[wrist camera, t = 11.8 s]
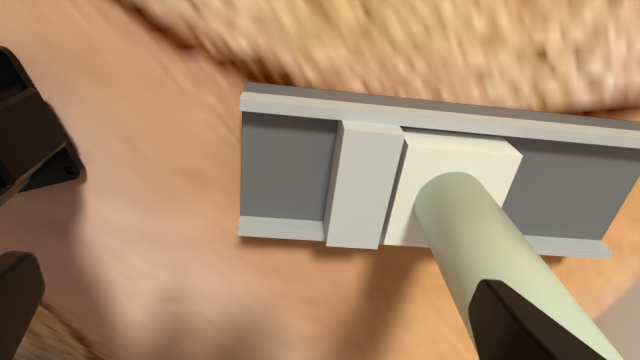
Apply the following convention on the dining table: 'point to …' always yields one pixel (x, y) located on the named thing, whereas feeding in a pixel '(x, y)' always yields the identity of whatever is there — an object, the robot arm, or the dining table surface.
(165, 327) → the dining table surface
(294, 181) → the track
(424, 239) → the slider with handle
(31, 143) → the robot arm
